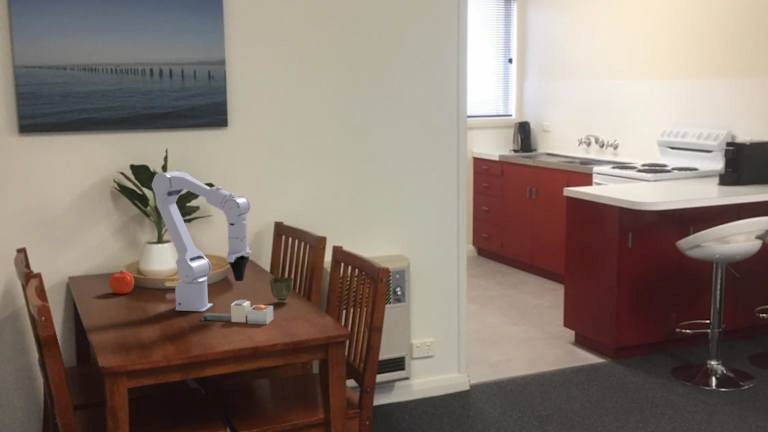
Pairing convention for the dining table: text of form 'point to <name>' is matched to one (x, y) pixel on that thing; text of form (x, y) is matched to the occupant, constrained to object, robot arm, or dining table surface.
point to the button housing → (259, 315)
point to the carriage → (239, 310)
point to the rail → (216, 317)
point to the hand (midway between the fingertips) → (239, 280)
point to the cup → (281, 288)
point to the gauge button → (260, 307)
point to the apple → (121, 283)
